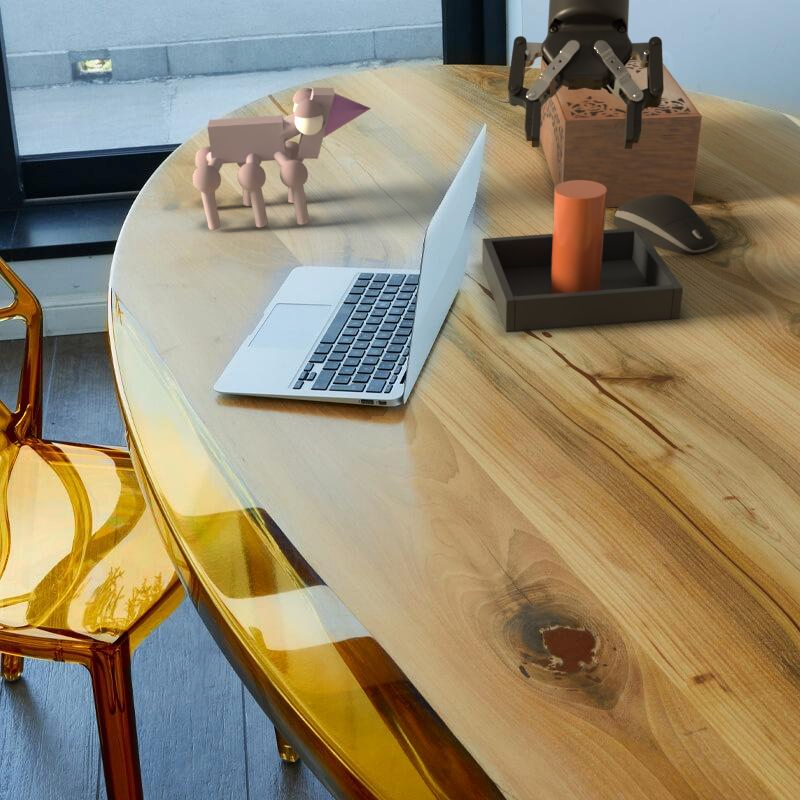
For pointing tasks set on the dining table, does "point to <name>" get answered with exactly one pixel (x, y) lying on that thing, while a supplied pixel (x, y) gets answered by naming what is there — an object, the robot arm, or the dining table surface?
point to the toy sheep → (271, 150)
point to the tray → (613, 304)
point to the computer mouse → (667, 224)
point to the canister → (578, 236)
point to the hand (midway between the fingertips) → (581, 144)
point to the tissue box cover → (622, 140)
